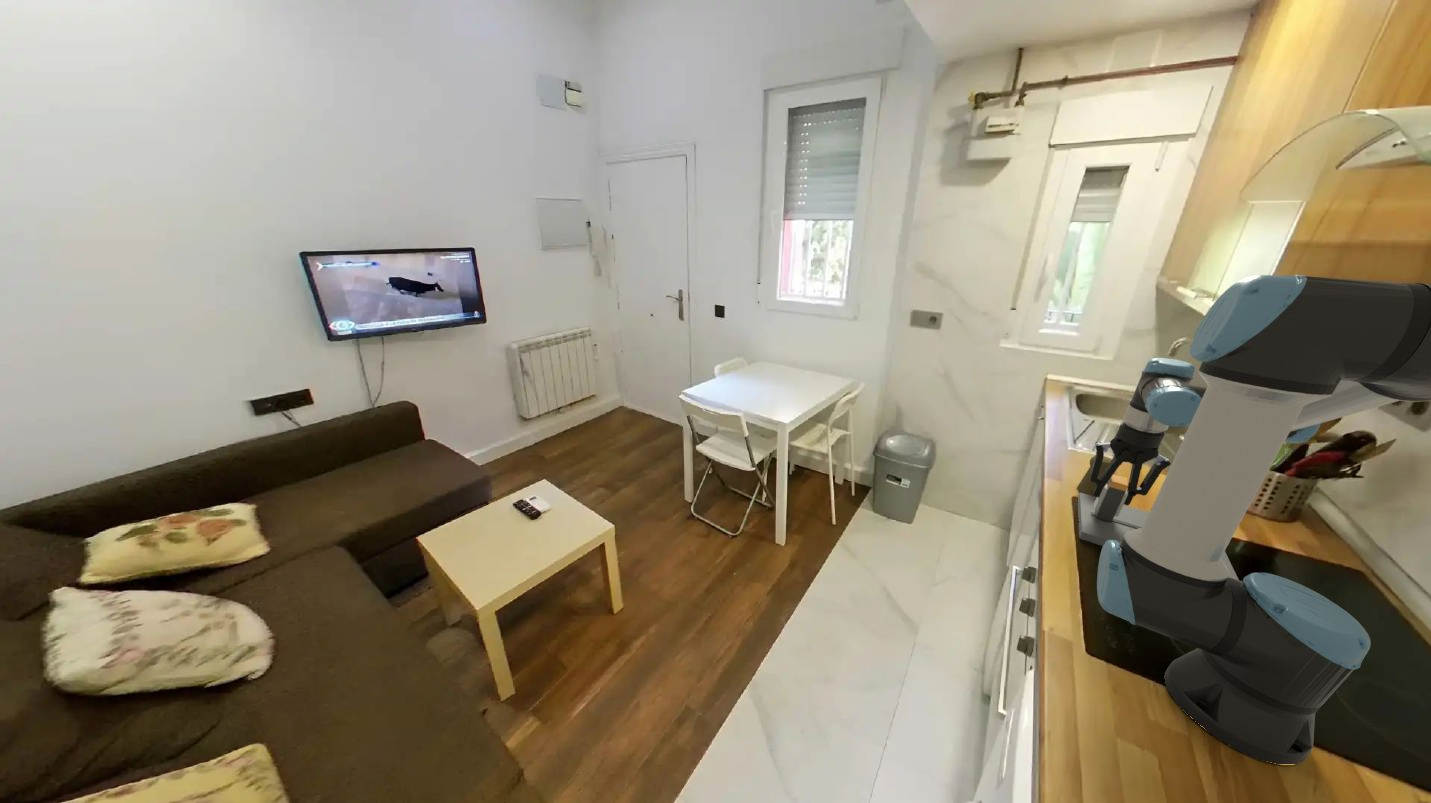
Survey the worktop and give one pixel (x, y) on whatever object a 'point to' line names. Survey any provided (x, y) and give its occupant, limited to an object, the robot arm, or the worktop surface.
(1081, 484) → the cork
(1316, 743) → the worktop surface
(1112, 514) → the fader tab
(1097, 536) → the console
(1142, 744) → the worktop surface
